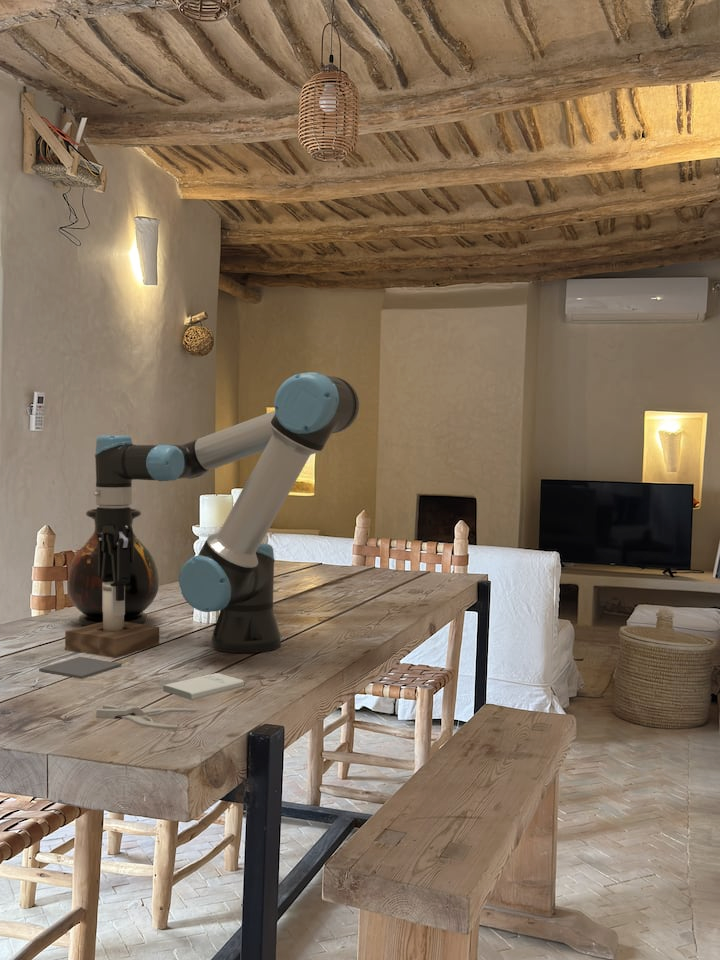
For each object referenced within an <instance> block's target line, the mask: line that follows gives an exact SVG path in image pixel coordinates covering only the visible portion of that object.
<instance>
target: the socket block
mask: <svg viewBox="0 0 720 960" xmlns="http://www.w3.org/2000/svg"><path fill="white" fill-rule="evenodd" d="M64 636H65V637H64V638H65V641H64V645H65V647H64V650H66V651H69V652H70V651H71V652H77V653H82V654H83V653H84V654H89V655H95V656H96V655H97V656H103V657H109V658H119V657H123V656H127V655H130V654H132V653H133V654H134V653H136V651H137V652H139V650H140V651H142V650H146V649H150V648H152V647H156V646H159V645H160V626H158V625H150V624H136V623H129V622H124V630H121V631H118V632H107V631H103V622H100V623H96V624H92V625H88V626H84V627H82V626H80V627H77V628H72V629H69V630H65V631H64Z"/></svg>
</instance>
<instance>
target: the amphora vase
mask: <svg viewBox="0 0 720 960" xmlns="http://www.w3.org/2000/svg"><path fill="white" fill-rule="evenodd" d="M96 509H97V508H95V509H88V510H87V511H86V513H85V515H86V516H87V517H88V518H91V519H92V520H93V522H94V532H93V533H92V535H91V536H90V537H89V539H88V540H87V541H85V543H84V544H83V545H82V546H81V547H80V548H79V549H78V550H77V552H76V554H75V556H74V557H73V559H72V561H71V564H70V567H69V570H68V575H67V581H66V583H67V584H66V585H67V589H66V590H67V594H68V598H69V599H70V602H71V603H72V604H73V605H74V607H75V608H76V609H77V610H78V611H79V612H81V613H82V614H81V615H80V616H78V618H77V623H78V625H80V627H84V626H88V625H92V624H96V623H100V622H103V612H102V581H101V578H99V577H98V542H97V533H102V529H103V525H97V524H96ZM131 509H132V522H131V524H129V525H125V526H124V528H125V535H126V538H131V547H130V583H127V584H126V585H125V615H124V622H129V623H136V624H144V625H146V623H147V622H148V620H149V616H148V614H147V613H146V612H144V611H145V610H147V609H148V608H149V607H150V605H152V603H153V602H154V600H155V599H156V597H157V595H158V591H159V581H160V580H159V574H158V568H157V565H156V563H155V562H156V561H155V560H154V557H153V555H152V553H151V552H150V550H149V549H148V548H147V547H146V546H145V544H143V542H142V541H141V540H139V538H138V537H137V536H136V534H135V533H134V531H133V530H134V529H133V522H134V519H136V518H138V517H141V515H142V513H141V511H140V510H139V509H136V508H131ZM111 582H113V581H111Z"/></svg>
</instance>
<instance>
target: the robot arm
mask: <svg viewBox="0 0 720 960" xmlns="http://www.w3.org/2000/svg"><path fill="white" fill-rule="evenodd" d="M273 406H274V410H273V411H270V412H267V413H265V414H262V415H259V416H256V417H253V418H251V419H248V420H245V421H242V422H240V423H238V424H235V425H231V426H229V427H225V428H224V429H221V430H219V431H215V432H213V433H209V434H207V435H205V436H203V437H200V438H198V439H194V440H192V441H189V442H185V443H184V444H133V441H132V437H131V436H130V435H121V434H120V435H118V434H115V435H114V434H113V435H107V434H102V435H99V436H98V437H97V438H96V441H95V442H96V443H95V445H96V446H95V454H94V456H95V457H94V458H95V477H96V478H95V479H96V480H95V491H94V492H93V495H94V496H95V504H96V505H97V506H98V507H96V508H95V509H96V524H97V525H103V529H102V533H97V542H98V577H99V578H101V581H102V612H103V584H107V583H112V584H110V585H111V586H112V616H121V615H125V585H126V584H127V583H130V547H131V538H126V535H125V528H124V526H125V525H129V524H131V522H132V509H133V508H131V507H130V506H131V505H132V504H133V486H132V483H133V480H134V481H135V480H138V481H139V480H140V481H141V480H142V481H158V482H169V481H176V480H179V479H189V480H191V479H195V478H199V477H202V476H204V475H205V474H206V473H207V472H209V471H212V470H216V469H218V468H220V467H223V466H225V465H229V464H231V463H234V462H237V461H241V460H242V459H243V460H244V459H245V458H249V457H251V456H254V455H257V454H260V453H261V455H260V457H259V458H258V460H257V463H256V464H255V467H254V468H253V469H252V471H251V473H250V475H249V477H248V478H247V481H246V482H245V485H244V486H243V488H242V490H241V491H240V493H239V495H238V497H237V498H236V500H235V502H234V504H233V506H232V507H231V509H230V512H229V513H228V515H227V516H226V519H225V521H224V523H223V524H222V526H221V528H220V530H219V532H218V533H214V534H210V535H209V536H208V537H207V539H206V540H205V542H204V544H203V545H202V547H201V549H200V551H199V552H198V554H197V555H194V556H192V557H190V558H189V559H188V560H186V561H185V562H184V563H183V565H182V566H181V569H180V572H179V576H178V583H179V584H178V585H179V587H180V590H181V594H182V597H183V598H184V601H186V603H188V605H190V607H192V608H193V609H195V610H197V611H200V612H203V613H212V612H218V611H219V614H218V617H217V620H216V623H215V626H214V630H213V633H212V635H211V647H212V648H213V649H215V650H218V651H222V652H227V653H238V654H239V653H241V654H243V653H246V654H248V653H249V654H250V653H251V654H252V653H263V652H269V651H274V650H276V649H278V648H280V647H281V644H282V643H281V640H282V639H281V637H282V636H281V633H280V629H279V626H278V623H277V620H276V616H275V613H274V577H275V574H274V573H275V572H274V571H275V569H274V568H275V561H276V560H275V556H274V553H275V552H274V548H273V546H272V545H271V544H268V543H263V541H264V539H265V537H266V535H267V533H268V531H269V530H270V528H271V526H272V524H273V523H274V521H275V519H276V517H277V516H278V514H279V512H280V511H281V508H282V507H283V505H284V503H285V502H286V500H287V498H288V495H290V492H291V490H292V489H293V487H294V485H295V484H296V481H297V480H298V478H299V476H300V475H301V472H302V471H303V469H304V467H305V465H306V463H307V462H308V460H309V458H310V457H311V456H312V455H315V454H317V453H321V452H322V451H323V449H324V447H325V446H326V444H327V442H328V440H329V439H330V437H331V435H333V434H337V433H340V432H343V431H345V430H347V429H349V427H351V426H352V425H353V424H354V422H355V420H357V417H358V415H359V412H360V411H359V410H360V399H359V395H358V393H357V391H356V390H355V388H354V387H353V386H352V385H351V383H349V382H348V381H347V380H345V379H343V378H341V377H337V376H330V375H324V374H322V373H320V372H314V371H313V372H312V371H310V372H300V373H298V374H294V375H292V376H290V377H289V378H286V380H284V381H283V382H282V384H281V385H280V386H279V388H278V390H277V391H276V394H275V397H274V401H273ZM111 581H113V582H111Z"/></svg>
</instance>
